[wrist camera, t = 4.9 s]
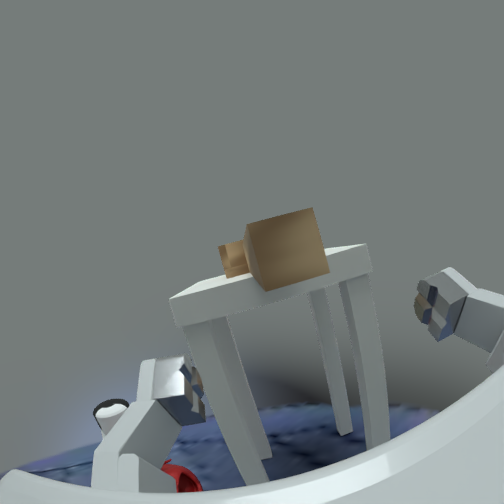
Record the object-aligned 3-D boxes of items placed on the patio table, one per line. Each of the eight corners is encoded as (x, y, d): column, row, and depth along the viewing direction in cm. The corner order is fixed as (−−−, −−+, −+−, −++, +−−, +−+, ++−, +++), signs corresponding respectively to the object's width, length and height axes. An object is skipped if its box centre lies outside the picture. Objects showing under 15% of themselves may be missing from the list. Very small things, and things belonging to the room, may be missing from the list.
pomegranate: (127, 508, 21) (91, 460, 21) (182, 477, 28) (155, 429, 29) (165, 548, 14) (121, 502, 15) (229, 506, 22) (200, 457, 22)
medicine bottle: (119, 459, 33) (87, 402, 33) (154, 447, 37) (126, 390, 37) (126, 481, 27) (88, 419, 27) (166, 467, 31) (133, 405, 31)
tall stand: (265, 527, 18) (168, 299, 18) (256, 452, 32) (199, 281, 33) (393, 485, 18) (366, 243, 19) (349, 423, 33) (312, 250, 34)
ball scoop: (209, 307, 10) (188, 228, 10) (229, 274, 30) (222, 249, 30) (377, 257, 10) (357, 185, 10) (287, 258, 30) (280, 233, 30)
